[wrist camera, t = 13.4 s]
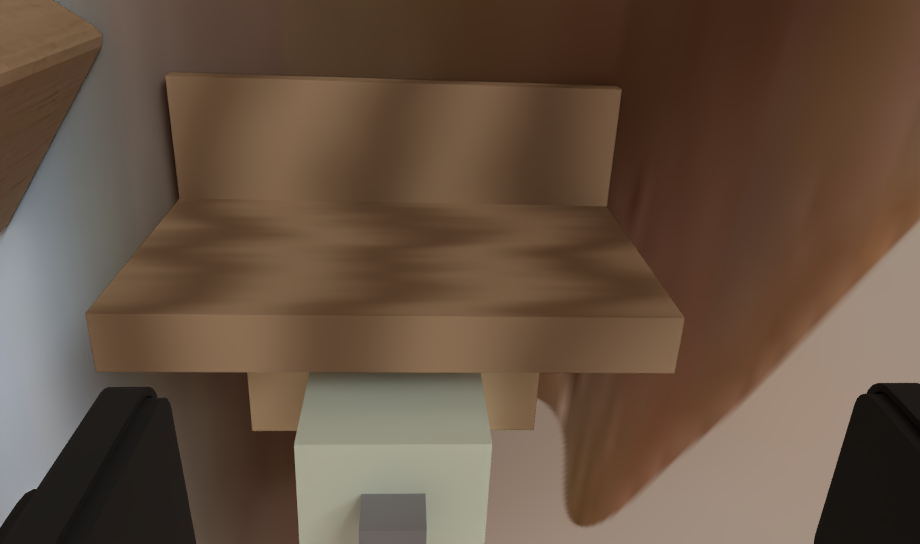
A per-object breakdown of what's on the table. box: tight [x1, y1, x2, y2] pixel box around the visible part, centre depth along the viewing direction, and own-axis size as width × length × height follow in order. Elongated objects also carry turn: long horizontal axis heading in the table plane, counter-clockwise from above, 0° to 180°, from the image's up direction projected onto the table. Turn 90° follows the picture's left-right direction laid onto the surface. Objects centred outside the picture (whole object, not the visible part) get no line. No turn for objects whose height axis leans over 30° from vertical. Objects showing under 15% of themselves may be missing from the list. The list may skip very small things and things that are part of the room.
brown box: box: [85, 72, 685, 431], centre depth 29 cm, size 18×14×11 cm
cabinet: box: [294, 372, 492, 544], centre depth 27 cm, size 6×5×10 cm
